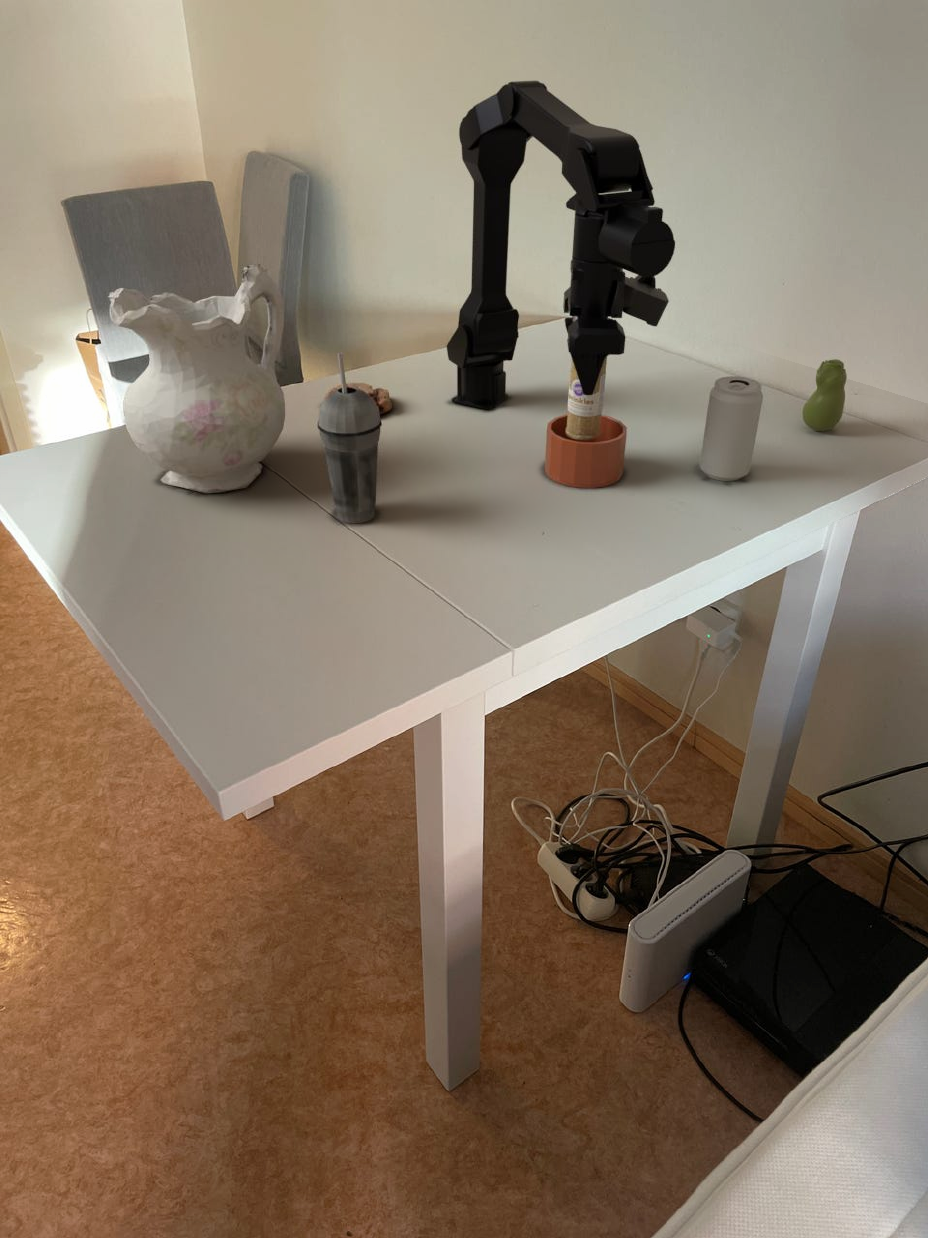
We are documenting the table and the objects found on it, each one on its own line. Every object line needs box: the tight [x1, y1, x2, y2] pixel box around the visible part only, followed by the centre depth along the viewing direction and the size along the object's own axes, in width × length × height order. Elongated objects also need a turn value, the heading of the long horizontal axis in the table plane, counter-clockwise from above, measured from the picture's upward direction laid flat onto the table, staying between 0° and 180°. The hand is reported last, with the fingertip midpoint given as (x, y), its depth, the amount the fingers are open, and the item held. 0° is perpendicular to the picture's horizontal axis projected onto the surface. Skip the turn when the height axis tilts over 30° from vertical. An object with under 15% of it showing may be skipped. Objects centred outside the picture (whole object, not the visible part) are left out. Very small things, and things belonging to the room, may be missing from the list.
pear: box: [801, 358, 848, 432], centre depth 134 cm, size 6×5×10 cm
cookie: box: [323, 382, 393, 415], centre depth 143 cm, size 10×11×3 cm
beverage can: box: [699, 375, 764, 482], centre depth 121 cm, size 6×6×12 cm
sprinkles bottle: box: [566, 356, 608, 441], centre depth 119 cm, size 5×5×14 cm
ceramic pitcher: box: [108, 263, 286, 494], centre depth 118 cm, size 22×20×25 cm
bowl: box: [544, 413, 628, 489], centre depth 123 cm, size 10×10×6 cm
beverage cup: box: [317, 351, 383, 525], centre depth 109 cm, size 7×7×20 cm
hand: (587, 387), depth 119 cm, fingers closed on sprinkles bottle, 4 cm apart
